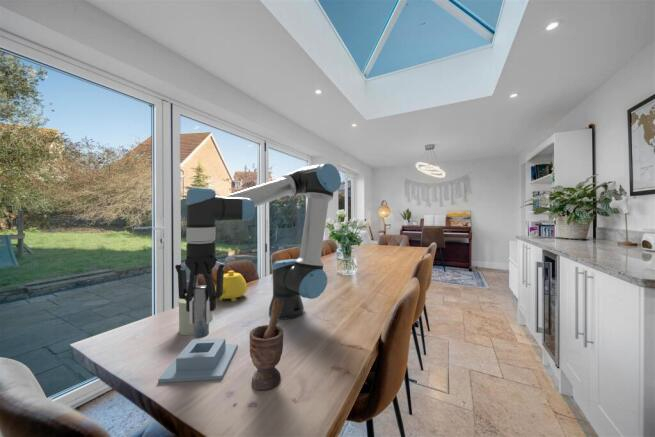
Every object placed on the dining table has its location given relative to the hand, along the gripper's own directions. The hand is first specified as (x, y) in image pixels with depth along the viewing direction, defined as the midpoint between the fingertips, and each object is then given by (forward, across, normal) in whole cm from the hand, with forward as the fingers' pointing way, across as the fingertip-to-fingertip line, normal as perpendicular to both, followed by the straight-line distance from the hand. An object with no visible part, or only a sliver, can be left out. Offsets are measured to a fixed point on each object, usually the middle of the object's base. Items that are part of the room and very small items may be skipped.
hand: (201, 321), depth 73 cm
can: (+13, +12, -22) cm, 28 cm away
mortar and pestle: (+12, -20, +8) cm, 25 cm away
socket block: (+12, 0, 0) cm, 12 cm away
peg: (+4, 0, 0) cm, 4 cm away
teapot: (+12, +8, -54) cm, 56 cm away
